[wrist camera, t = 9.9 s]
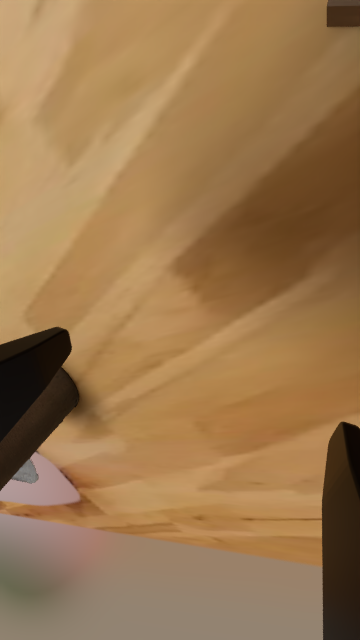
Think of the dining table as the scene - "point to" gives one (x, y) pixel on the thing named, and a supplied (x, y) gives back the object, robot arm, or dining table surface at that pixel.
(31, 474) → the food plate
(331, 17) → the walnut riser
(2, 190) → the dining table surface
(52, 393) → the pillar candle
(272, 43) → the dining table surface
